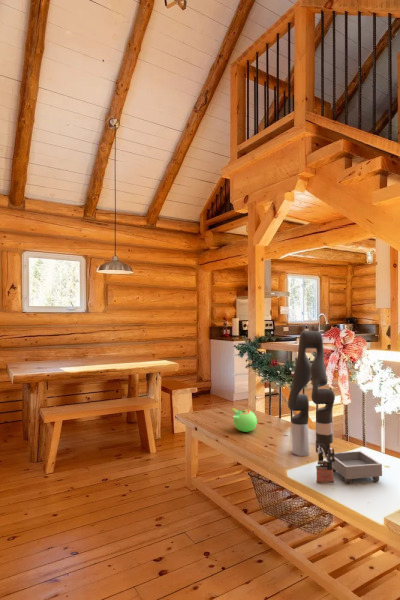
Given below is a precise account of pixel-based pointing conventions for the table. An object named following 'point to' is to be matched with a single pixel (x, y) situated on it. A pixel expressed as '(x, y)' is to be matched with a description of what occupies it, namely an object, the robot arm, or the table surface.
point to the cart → (356, 466)
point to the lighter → (324, 473)
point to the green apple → (244, 420)
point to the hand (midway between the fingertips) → (325, 466)
